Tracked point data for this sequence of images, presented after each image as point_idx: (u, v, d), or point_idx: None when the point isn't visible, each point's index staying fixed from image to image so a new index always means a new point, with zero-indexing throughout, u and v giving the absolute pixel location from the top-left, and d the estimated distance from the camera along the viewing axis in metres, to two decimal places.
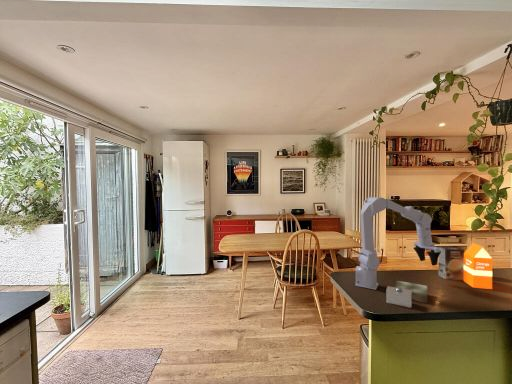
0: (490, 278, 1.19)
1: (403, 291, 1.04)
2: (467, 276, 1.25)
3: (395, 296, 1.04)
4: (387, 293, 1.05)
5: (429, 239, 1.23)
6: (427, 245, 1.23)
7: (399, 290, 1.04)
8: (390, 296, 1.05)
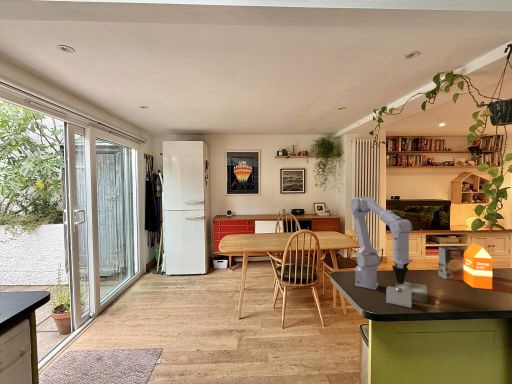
0: (490, 278, 1.19)
1: (403, 291, 1.04)
2: (467, 276, 1.25)
3: (395, 296, 1.04)
4: (387, 293, 1.05)
5: (401, 252, 1.02)
6: (397, 258, 1.03)
7: (399, 290, 1.04)
8: (390, 296, 1.05)
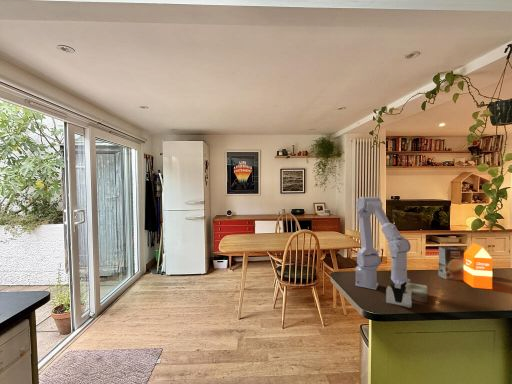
0: (490, 278, 1.19)
1: None
2: (467, 276, 1.25)
3: None
4: (387, 293, 1.06)
5: (398, 271, 1.03)
6: (395, 277, 1.04)
7: None
8: (390, 296, 1.05)
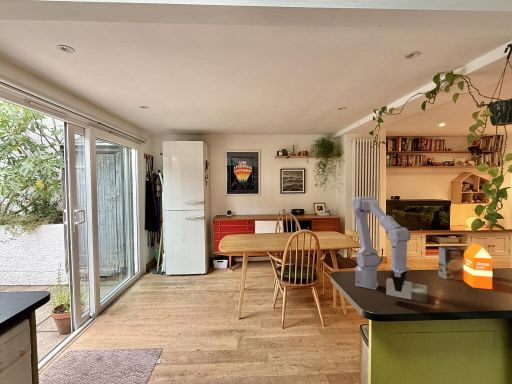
0: (490, 278, 1.19)
1: (403, 282, 1.04)
2: (468, 276, 1.25)
3: None
4: (387, 285, 1.05)
5: (398, 261, 1.03)
6: (395, 267, 1.04)
7: None
8: (390, 287, 1.05)
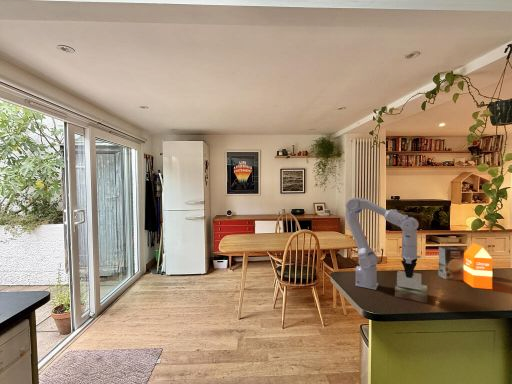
0: (490, 278, 1.19)
1: (413, 274, 1.10)
2: (468, 276, 1.25)
3: (405, 279, 1.10)
4: (398, 276, 1.11)
5: (409, 248, 1.08)
6: (406, 254, 1.09)
7: None
8: (401, 279, 1.11)
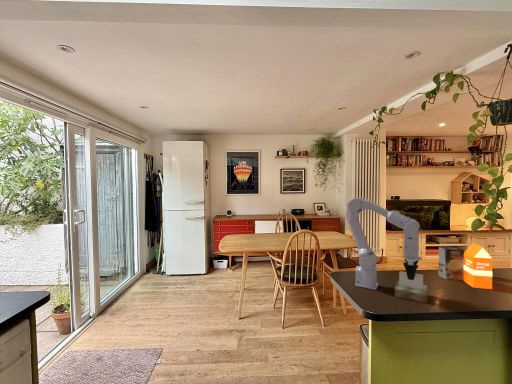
0: (490, 278, 1.19)
1: (415, 275, 1.11)
2: (468, 276, 1.25)
3: (407, 280, 1.11)
4: (400, 277, 1.12)
5: (411, 250, 1.09)
6: (407, 256, 1.10)
7: None
8: (403, 280, 1.12)
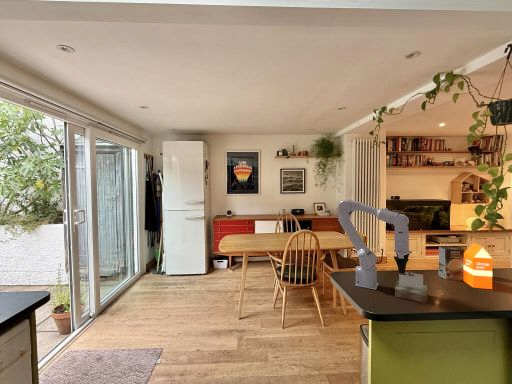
0: (490, 278, 1.19)
1: (415, 275, 1.11)
2: (468, 276, 1.25)
3: (407, 280, 1.11)
4: (400, 277, 1.12)
5: (401, 244, 1.12)
6: (398, 250, 1.13)
7: (411, 274, 1.11)
8: (403, 280, 1.12)
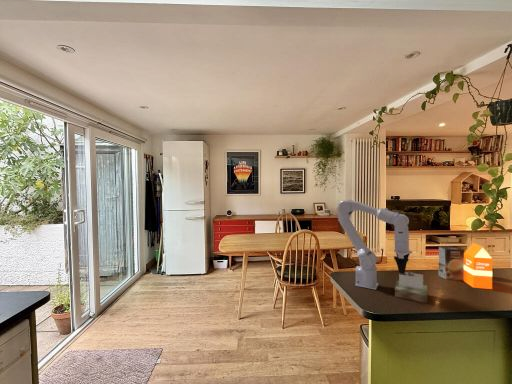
0: (490, 278, 1.19)
1: (415, 275, 1.11)
2: (467, 276, 1.25)
3: (407, 280, 1.11)
4: (400, 277, 1.12)
5: (401, 244, 1.12)
6: (398, 250, 1.13)
7: (411, 274, 1.11)
8: (403, 280, 1.12)
